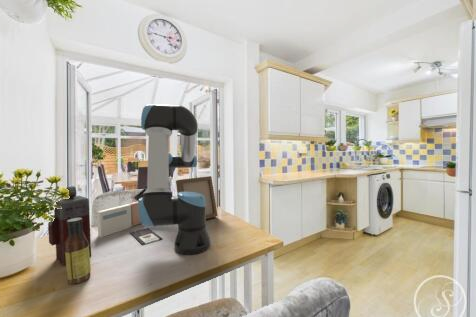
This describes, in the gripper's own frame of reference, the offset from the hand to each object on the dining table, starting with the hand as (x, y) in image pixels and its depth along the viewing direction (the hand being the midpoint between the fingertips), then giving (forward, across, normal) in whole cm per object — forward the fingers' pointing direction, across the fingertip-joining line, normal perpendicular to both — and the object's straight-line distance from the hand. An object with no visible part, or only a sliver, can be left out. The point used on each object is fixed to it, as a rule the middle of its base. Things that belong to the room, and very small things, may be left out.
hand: (138, 212), depth 124 cm
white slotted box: (+14, -1, +5) cm, 15 cm away
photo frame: (-11, -24, -20) cm, 33 cm away
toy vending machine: (+32, -13, +23) cm, 41 cm away
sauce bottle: (+35, -31, +26) cm, 54 cm away
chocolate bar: (+12, -20, +2) cm, 23 cm away
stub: (+5, 0, -4) cm, 6 cm away
